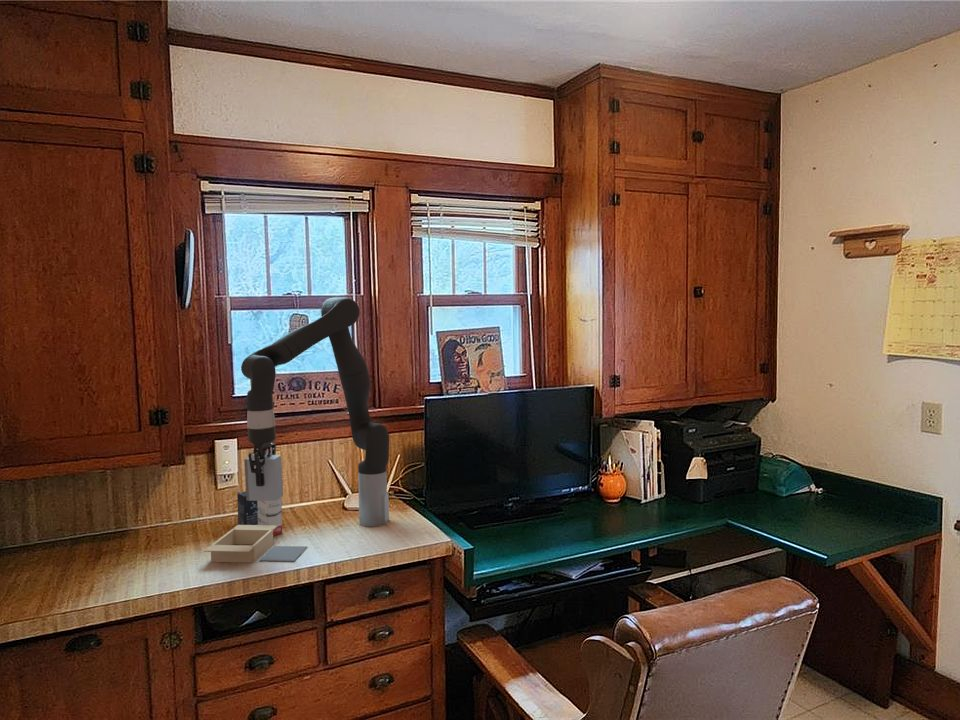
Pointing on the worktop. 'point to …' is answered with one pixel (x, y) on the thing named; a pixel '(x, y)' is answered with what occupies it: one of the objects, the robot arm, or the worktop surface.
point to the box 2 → (265, 480)
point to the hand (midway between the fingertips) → (264, 483)
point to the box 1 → (247, 510)
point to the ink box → (270, 514)
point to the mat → (283, 554)
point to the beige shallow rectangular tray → (242, 535)
